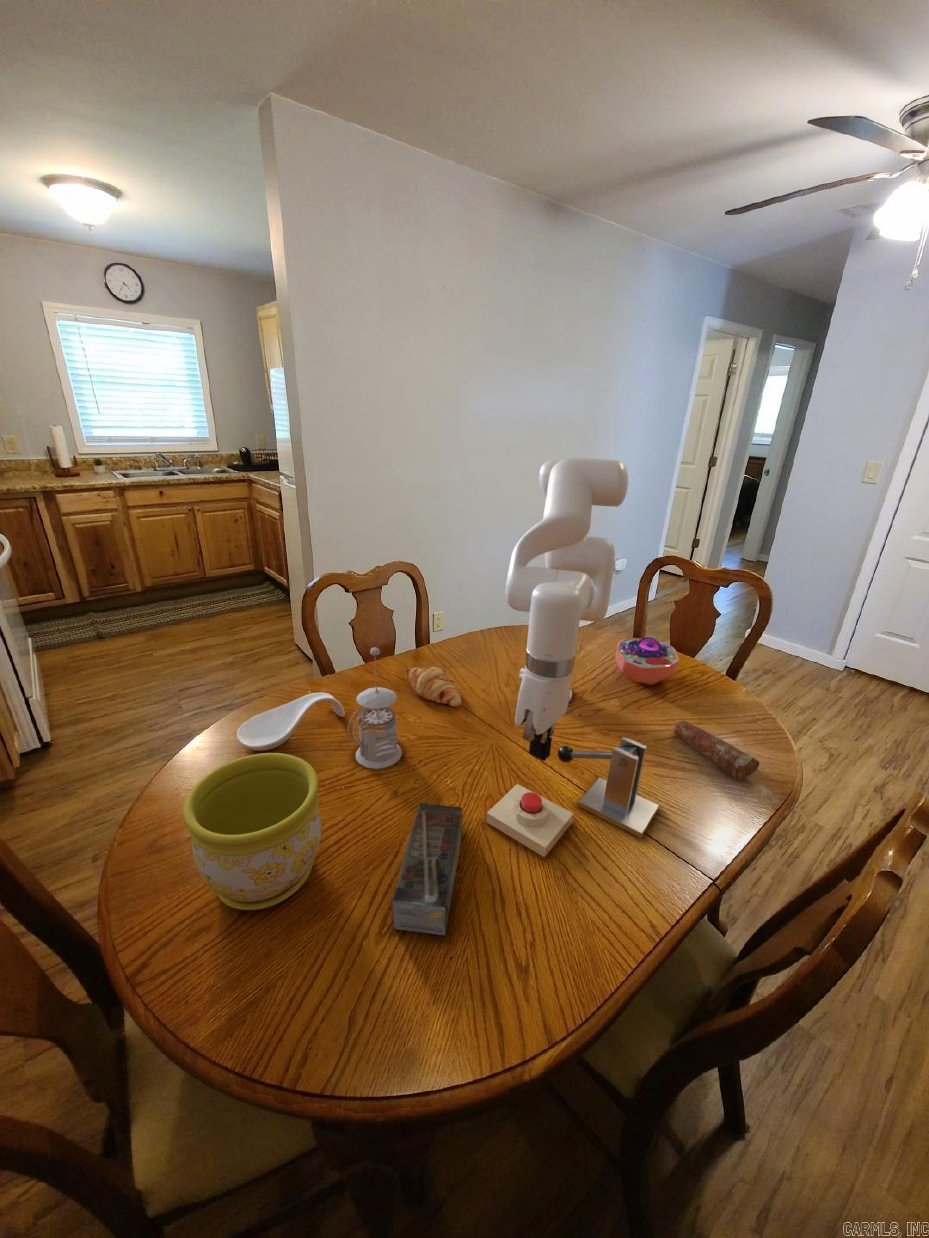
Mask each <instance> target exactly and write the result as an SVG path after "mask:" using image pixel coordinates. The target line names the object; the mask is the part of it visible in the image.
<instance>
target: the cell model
mask: <svg viewBox="0 0 929 1238" xmlns="http://www.w3.org/2000/svg"><path fill="white" fill-rule="evenodd" d="M615 649H616V650H615V656H614V657H615V663H616V666H617V668H618V669H619V670H620V671H621V673H622V675H624V676H625V677H626V678H627V679H629V680H630V681H633V682H635V683H640V684H644V685H648V686H651V685H655V684H657V683H659V682H661V681H663V680H665V679H668V678H670V677H671V676H673V675H674V674H675V673H676V671H677V668H678V665H679V661H680V658H679V656H678V653H677V649H676V648H675V647H673V646H672V645H670V644H668V643H666V642H664V641H660V640H658V639H657V638H655V637H652V636H645V637H642V638H641V637H640V638H639V637H638V638H637V637H635V638H634V637H628V638H624V639H622V640H620V641H619V642H617V644H616V648H615Z"/></svg>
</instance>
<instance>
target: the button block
mask: <svg viewBox="0 0 929 1238" xmlns="http://www.w3.org/2000/svg"><path fill="white" fill-rule="evenodd" d="M528 792H532V793H535V792H534V791H532V790H530V789H528V788H526V787H524V786H522V785H520V784H518V783H516V784H515V785H514V786H513V787H512V788H511V789H510V790H509V791H508V792H507V793H506V794H505V795H504V796H502V798H501V799H500V800H498V802H497V803H495V804H494V805H493V806H492V807H491V808H490V809H489V810H488V811H487V812H486V821H485V822H486V823H487V824H488V825H490V826H492V827H493V828H495V829H496V830H498V831H500V832H501V833H503V834H504V835H507V836H508V837H509V838H511V839H513V840H515V841H516V842H518V843H520V844H522V845H523V846H525V847H526V848H528V849H530V850H531V851H532V852H535V853H536V854H538V855H539V856H541V857H543V858H546V856H547V855H548V854H549V853H550V851H551V850H552V849H553V848H554V846H555V845H556V844H557V843H558V842H559V840H560V839H561V837H563V835H564V834H565V833H566V831H567V830H568V829H569V828H570V826H572V824H573V819H574V813H573V812H572V811H570V810H568V809H566V808H564V807H562V806H561V805H558V804H557V803H555V802H553V801H551V800H549V799H547V798H545V797H544V796H542V795H540V794H538V795H539V796H540V797H541V799H542V806H541V811H540V812H539V813H537V814H528V813H526V812H524V811H523V810H522V808H521V799H522V796H523V795H524V794H525V793H528Z"/></svg>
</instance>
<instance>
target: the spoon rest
mask: <svg viewBox="0 0 929 1238" xmlns="http://www.w3.org/2000/svg"><path fill="white" fill-rule="evenodd" d="M321 702H329V703H330V704H331V707H332V711H333V712H334V713H335V714H336V715H337V716H338V717H341V718H343V717H345V716H346V712H345V708H344V706H343V704H342V703H341V702H340V701H339V700H337V699H336V698H335V697H334V696H333V695H332V694H330V693H328V692H312V693H308V694H306V695H304V696H301V697H299V698H296V699H294V700H292V701H290V702H287V703H285V704H282V705H280V706H277V707H274V708H272V709H271V708H270V709H269V710H266V711H264V712H261V713H258V714H256V715H254V716H252V717H250V718H249V719H246V721H244V722H243V723H242V724H241V725H240V726H239V728H238V729H237V731H236V739H237V741H238V743H239V744H241V746H243V747H245V748H246V749H248V750H251V751H257V752H266V751H269V750H274V749H277V748H278V747H280V746H282V745H283V744H284V743H285V742H287V740H288V739H289V738H290V737H292V734H294V731H295V730H296V729H297V727H298V725H299V724H300V722H301V721H302V719H303V717H304V716H305V715H306V714H307V712H308V711H309V709H311V708H312V707H313V706H314V705H316V704H318V703H321Z"/></svg>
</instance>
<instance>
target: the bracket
mask: <svg viewBox="0 0 929 1238" xmlns="http://www.w3.org/2000/svg"><path fill="white" fill-rule="evenodd" d="M621 747H636V748H637V752H638V755H639V757H638V756H635V755H633V754H631V753H628V752H626V751H624V750H621ZM647 748H648V746H647V745H644V744H642V743H640V742H638V741H635V740H632V739H630V738H627V737H625V736H622V738H621V739H620V746H619V747H616V746H614V747H613V748H612V750H611V752H612V756H611V759H610V761H609V768H608V774H607V779H604V778H602V777H600V776H599V777H598V778H597V779H596V781H595V782H594V783H593V784H592V785H591V787H590V788H589V789H588V790H587V791H586V793H584V795H583V796H582V797H581V799H580V800H579V801H578V802H579V803H578V807H579V808H581V809H583V810H584V811H586V812H589V813H591V814H592V815H594V816H596V817H598V818H600V819H602V820H604V821H606V822H608V823H610V824H612V825H614V826H616V827H617V828H620V829H621V830H623V831H625V832H627V833H629V834H631V835H633V836H635V837H637V838H639V839H642V838H643V837H644V834H645V833H646V831H647V830H648V828H649V826H650V825H651V823H652V821H653V819H654V818H655V816H656V814H657V813H658V811H659V808H660V804H658V803H656V802H653V801H652V800H650V799H647V798H644V797H643V796H641V795H638V793H639V792H638V791H639V786H640V781H641V777H642V773H643V768H644V762H645V758H646V753H647ZM639 759H640V760H639ZM638 760H639V761H638Z"/></svg>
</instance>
